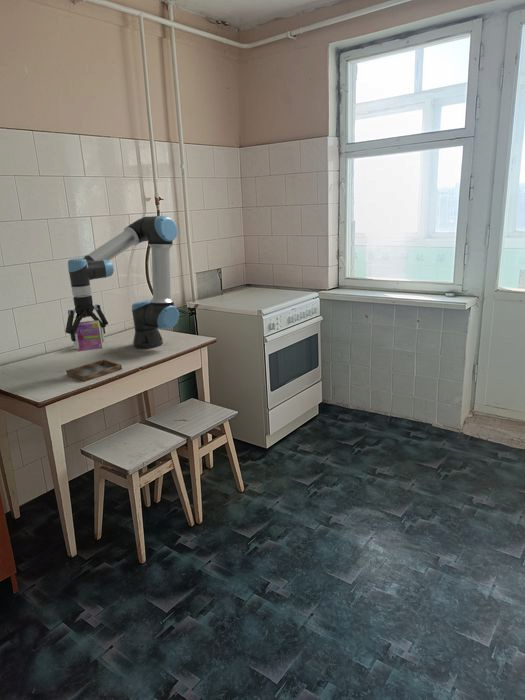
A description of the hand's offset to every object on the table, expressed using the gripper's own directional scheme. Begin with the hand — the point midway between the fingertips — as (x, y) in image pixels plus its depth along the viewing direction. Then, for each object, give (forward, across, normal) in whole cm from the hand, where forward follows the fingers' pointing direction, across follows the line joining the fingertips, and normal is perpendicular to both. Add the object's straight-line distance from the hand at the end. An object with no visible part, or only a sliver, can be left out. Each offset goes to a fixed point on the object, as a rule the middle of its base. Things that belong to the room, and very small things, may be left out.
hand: (90, 344), depth 217 cm
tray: (+13, 0, 0) cm, 13 cm away
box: (+2, 0, 0) cm, 2 cm away
